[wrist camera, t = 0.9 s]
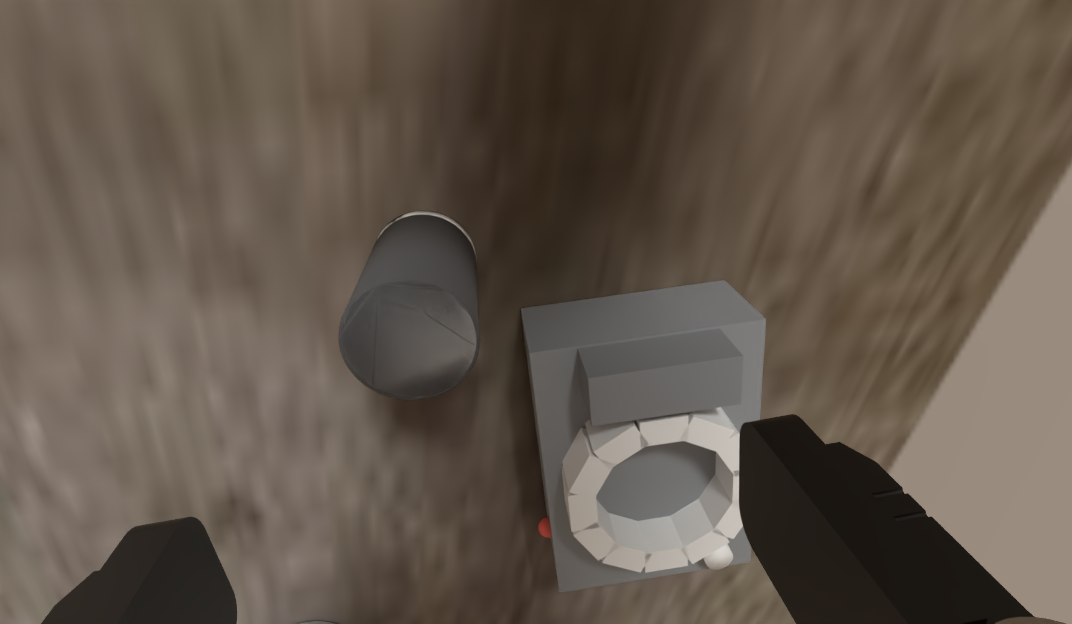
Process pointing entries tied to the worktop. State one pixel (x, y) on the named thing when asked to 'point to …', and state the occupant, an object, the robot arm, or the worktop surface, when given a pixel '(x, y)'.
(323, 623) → the lotion bottle
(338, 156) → the worktop surface
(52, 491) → the worktop surface
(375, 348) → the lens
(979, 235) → the worktop surface
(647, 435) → the camera body
